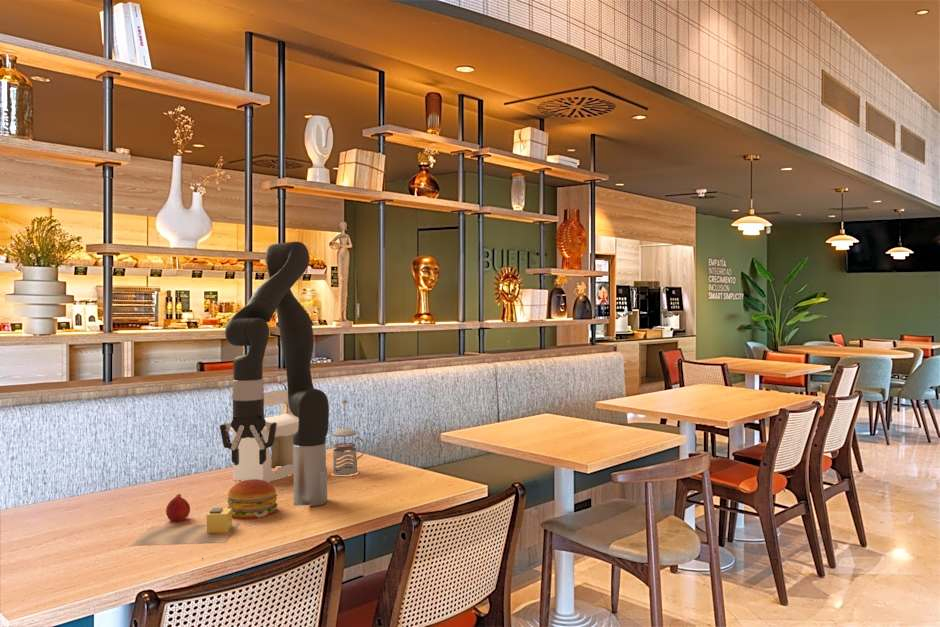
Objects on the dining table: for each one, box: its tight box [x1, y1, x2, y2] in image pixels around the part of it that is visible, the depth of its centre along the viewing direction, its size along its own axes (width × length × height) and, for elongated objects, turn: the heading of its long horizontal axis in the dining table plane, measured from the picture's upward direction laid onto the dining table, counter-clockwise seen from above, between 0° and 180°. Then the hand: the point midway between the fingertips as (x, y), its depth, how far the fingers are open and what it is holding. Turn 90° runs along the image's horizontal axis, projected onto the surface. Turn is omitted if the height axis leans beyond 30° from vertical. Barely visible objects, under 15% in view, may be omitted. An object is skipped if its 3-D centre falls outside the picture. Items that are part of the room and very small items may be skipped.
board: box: [130, 522, 241, 547], centre depth 181 cm, size 22×18×1 cm
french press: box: [331, 399, 366, 475], centre depth 250 cm, size 10×12×25 cm
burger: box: [226, 479, 279, 520], centre depth 201 cm, size 14×14×10 cm
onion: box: [165, 493, 191, 523], centre depth 195 cm, size 6×6×8 cm
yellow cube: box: [206, 507, 233, 533], centre depth 186 cm, size 5×5×5 cm
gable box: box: [232, 389, 299, 483], centre depth 248 cm, size 22×13×28 cm, turn 152°
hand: (249, 463), depth 187 cm, fingers open, 5 cm apart
